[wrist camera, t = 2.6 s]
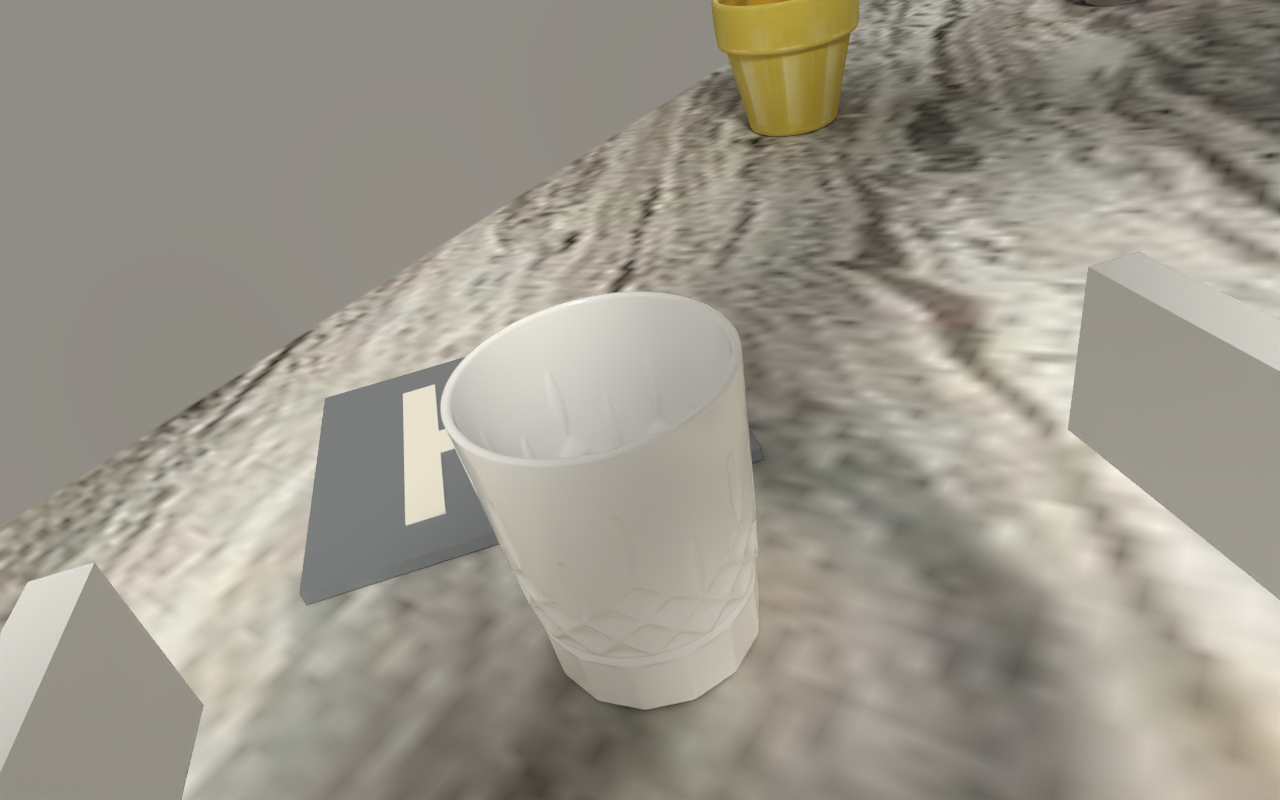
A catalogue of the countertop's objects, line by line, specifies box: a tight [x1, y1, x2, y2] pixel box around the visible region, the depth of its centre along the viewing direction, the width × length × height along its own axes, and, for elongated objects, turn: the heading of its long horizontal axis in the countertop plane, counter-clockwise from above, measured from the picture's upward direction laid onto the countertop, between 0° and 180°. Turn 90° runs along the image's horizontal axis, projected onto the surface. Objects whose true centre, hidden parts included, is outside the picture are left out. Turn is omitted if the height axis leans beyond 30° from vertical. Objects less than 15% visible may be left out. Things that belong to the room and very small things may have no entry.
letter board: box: [300, 357, 763, 605], centre depth 37 cm, size 18×14×1 cm
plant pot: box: [712, 0, 859, 136], centre depth 62 cm, size 10×10×10 cm
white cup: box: [440, 291, 759, 710], centre depth 24 cm, size 8×8×10 cm
